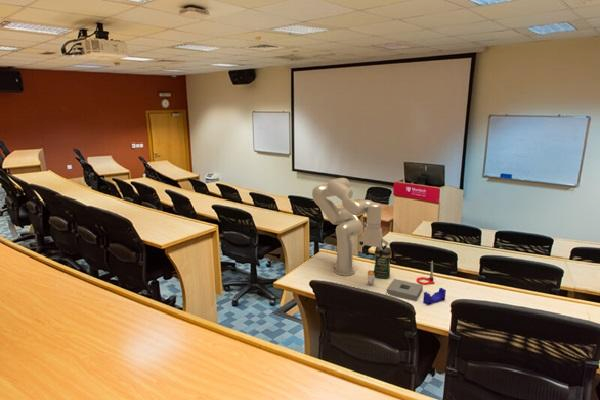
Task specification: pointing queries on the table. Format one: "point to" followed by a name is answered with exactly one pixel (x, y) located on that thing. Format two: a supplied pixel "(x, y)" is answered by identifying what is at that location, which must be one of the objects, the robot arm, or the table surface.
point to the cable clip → (434, 297)
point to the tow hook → (427, 278)
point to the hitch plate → (405, 289)
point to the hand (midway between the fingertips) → (372, 254)
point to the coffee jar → (382, 263)
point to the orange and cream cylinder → (371, 278)
